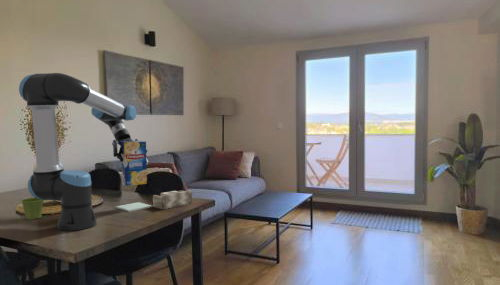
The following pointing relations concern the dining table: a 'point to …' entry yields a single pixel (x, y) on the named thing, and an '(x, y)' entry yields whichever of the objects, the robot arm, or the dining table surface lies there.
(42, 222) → the dining table surface
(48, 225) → the dining table surface
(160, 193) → the offcut stack
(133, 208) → the mat
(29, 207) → the plant pot
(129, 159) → the blue food box
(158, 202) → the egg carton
